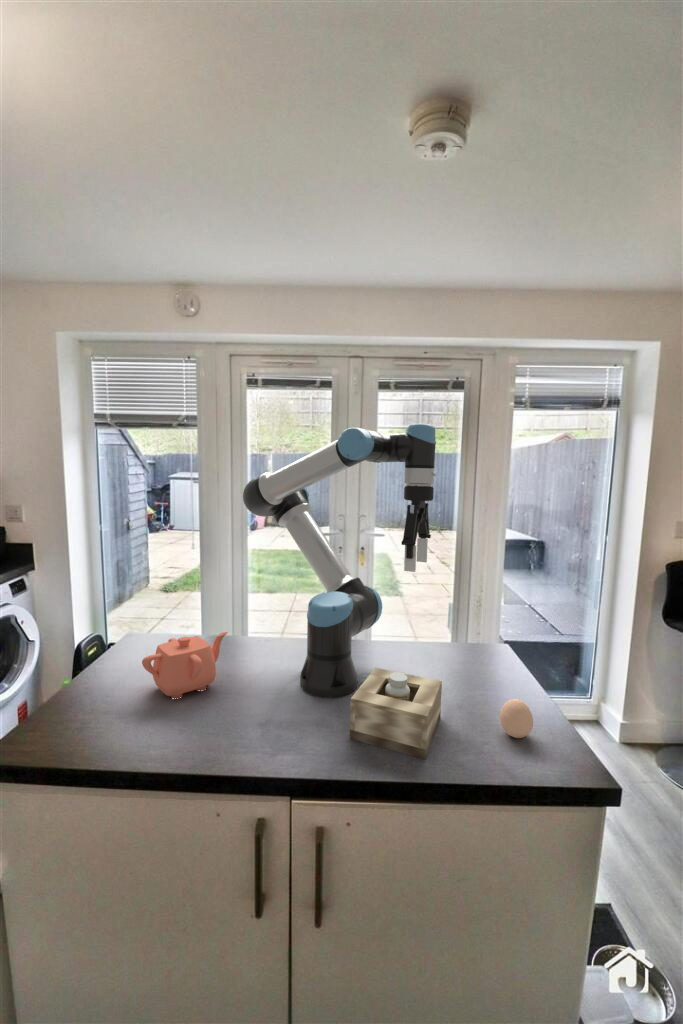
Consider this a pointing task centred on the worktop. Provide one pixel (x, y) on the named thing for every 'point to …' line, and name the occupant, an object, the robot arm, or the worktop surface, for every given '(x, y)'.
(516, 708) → the egg
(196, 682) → the teapot
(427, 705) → the drop box
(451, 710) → the worktop surface
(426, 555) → the robot arm
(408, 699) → the supplement bottle
